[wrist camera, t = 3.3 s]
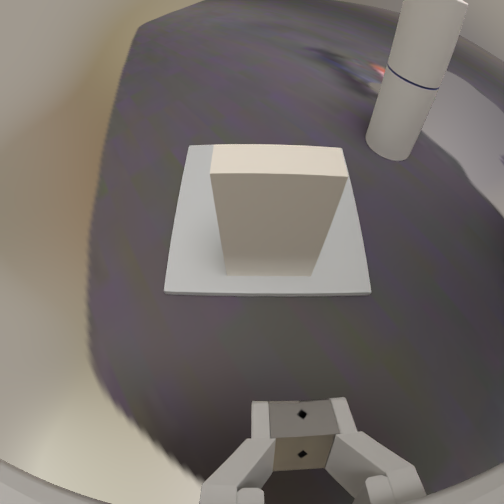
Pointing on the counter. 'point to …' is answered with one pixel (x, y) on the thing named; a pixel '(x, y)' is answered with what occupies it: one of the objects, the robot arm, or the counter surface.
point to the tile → (275, 205)
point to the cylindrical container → (413, 74)
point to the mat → (219, 284)
